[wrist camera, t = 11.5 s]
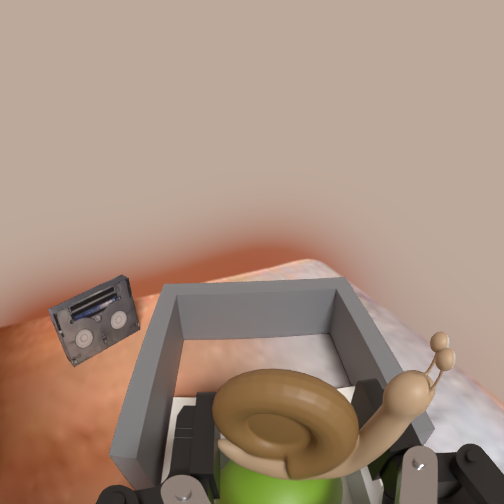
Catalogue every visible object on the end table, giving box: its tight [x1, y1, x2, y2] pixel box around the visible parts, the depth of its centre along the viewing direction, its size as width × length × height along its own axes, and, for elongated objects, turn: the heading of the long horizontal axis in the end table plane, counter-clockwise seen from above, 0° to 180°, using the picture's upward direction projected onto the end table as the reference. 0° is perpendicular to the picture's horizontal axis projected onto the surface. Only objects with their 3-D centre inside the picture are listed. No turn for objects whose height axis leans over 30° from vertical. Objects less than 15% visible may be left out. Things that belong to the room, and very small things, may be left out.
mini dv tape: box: [48, 275, 140, 367], centre depth 26 cm, size 8×2×6 cm, turn 143°
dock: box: [109, 277, 435, 490], centre depth 22 cm, size 17×18×5 cm
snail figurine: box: [212, 332, 455, 504], centre depth 9 cm, size 5×6×12 cm
